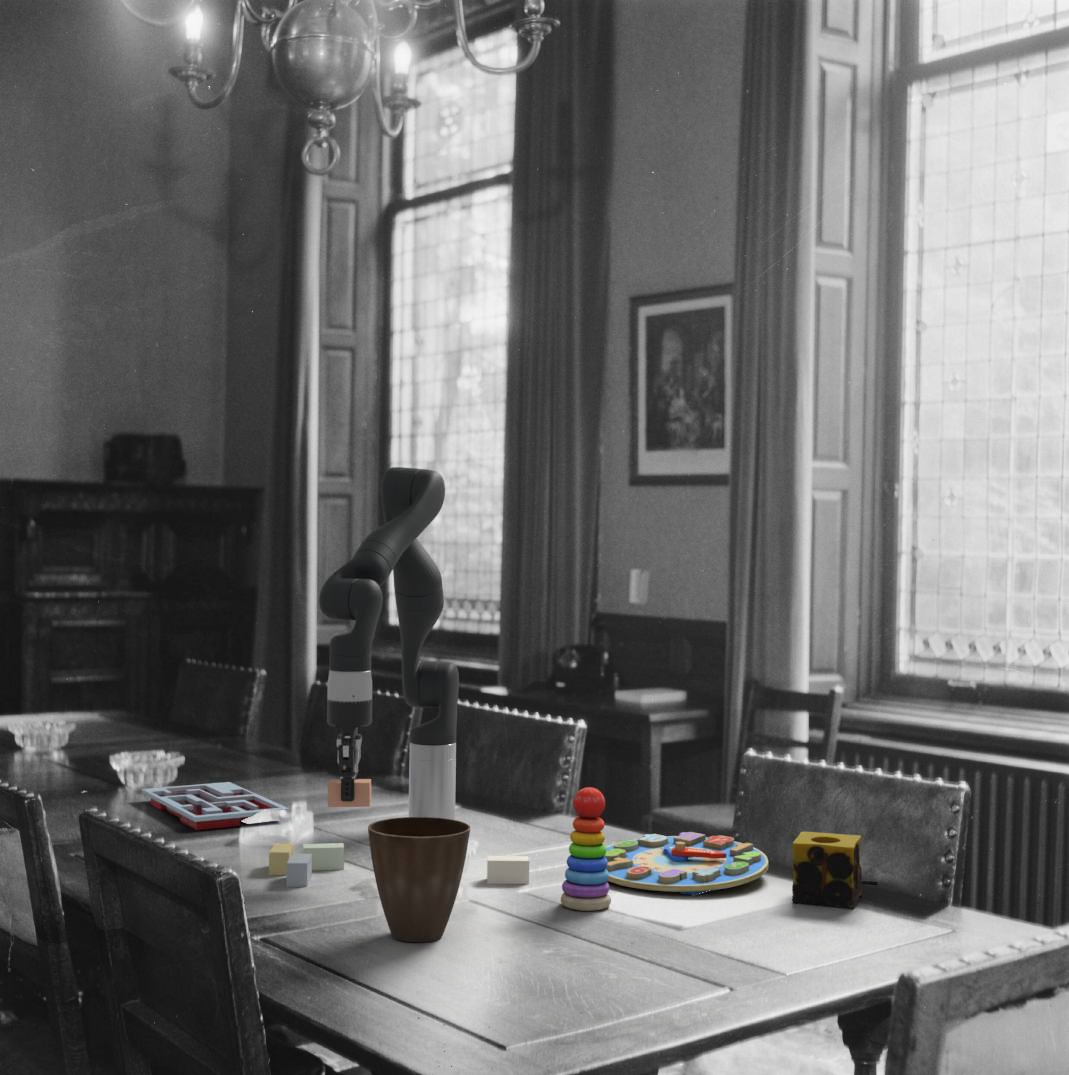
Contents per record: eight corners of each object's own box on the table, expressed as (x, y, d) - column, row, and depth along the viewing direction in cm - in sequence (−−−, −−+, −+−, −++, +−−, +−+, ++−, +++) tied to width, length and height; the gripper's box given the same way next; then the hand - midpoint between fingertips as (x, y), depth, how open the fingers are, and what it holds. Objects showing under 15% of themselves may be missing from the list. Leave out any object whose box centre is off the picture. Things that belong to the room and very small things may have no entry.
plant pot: (374, 920, 214) (375, 815, 214) (472, 923, 214) (474, 817, 214) (358, 949, 199) (360, 835, 199) (464, 952, 199) (466, 838, 199)
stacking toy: (606, 914, 220) (608, 793, 220) (556, 910, 222) (558, 791, 222) (614, 901, 228) (616, 785, 228) (565, 898, 229) (567, 782, 229)
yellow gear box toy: (862, 895, 235) (863, 835, 235) (855, 910, 225) (856, 847, 225) (800, 889, 238) (801, 830, 238) (791, 904, 228) (792, 842, 228)
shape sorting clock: (554, 876, 246) (555, 841, 246) (662, 849, 268) (663, 817, 268) (698, 909, 225) (698, 871, 225) (802, 878, 247) (802, 843, 247)
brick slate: (286, 887, 234) (286, 863, 234) (291, 877, 241) (291, 853, 241) (307, 887, 234) (307, 863, 234) (311, 877, 241) (311, 853, 241)
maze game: (289, 824, 285) (289, 808, 285) (194, 834, 275) (194, 817, 275) (229, 796, 315) (229, 782, 315) (141, 803, 305) (141, 789, 305)
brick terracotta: (329, 803, 241) (329, 779, 240) (371, 802, 241) (371, 779, 241) (327, 807, 237) (327, 783, 237) (369, 806, 237) (369, 782, 237)
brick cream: (487, 879, 242) (487, 856, 242) (528, 879, 242) (528, 856, 242) (487, 884, 238) (487, 860, 238) (528, 884, 239) (529, 861, 239)
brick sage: (302, 866, 249) (303, 844, 249) (343, 865, 250) (343, 843, 250) (303, 871, 245) (303, 848, 245) (343, 870, 247) (344, 847, 247)
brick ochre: (268, 875, 242) (269, 852, 242) (274, 866, 249) (274, 843, 249) (288, 876, 242) (289, 852, 242) (293, 866, 249) (294, 843, 249)
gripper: (369, 702, 232) (367, 807, 232) (375, 691, 246) (373, 790, 246) (323, 702, 232) (321, 807, 232) (331, 691, 246) (330, 790, 246)
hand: (348, 798), depth 239 cm, fingers closed on brick terracotta, 3 cm apart
